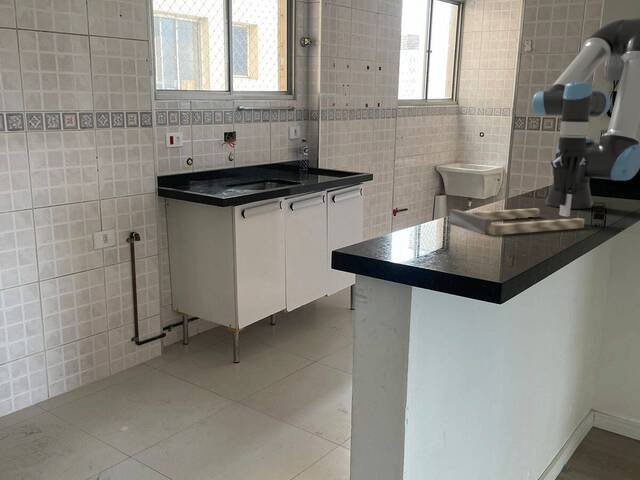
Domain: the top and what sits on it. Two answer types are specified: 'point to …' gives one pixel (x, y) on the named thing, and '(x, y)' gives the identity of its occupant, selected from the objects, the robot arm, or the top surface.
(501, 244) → the top surface
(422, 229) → the top surface
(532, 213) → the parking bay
